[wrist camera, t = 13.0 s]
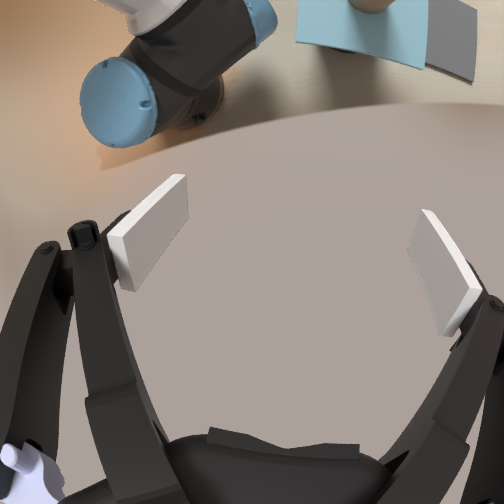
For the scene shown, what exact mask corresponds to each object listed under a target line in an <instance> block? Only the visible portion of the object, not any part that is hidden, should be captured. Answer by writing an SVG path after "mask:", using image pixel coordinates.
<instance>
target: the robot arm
mask: <svg viewBox="0 0 504 504" xmlns="http://www.w3.org/2000/svg"><path fill="white" fill-rule="evenodd" d="M93 1H95V2H98V3H100V4H102V5H104V6H107V7H109V8H111V9H113V10H115V11H117V12H119V13H121V14H123V15H125V16H126V21H127V27H128V32H129V33H130V34H132V35H134V36H136V37H135V38H134V39H133V40H132V41H131V43H130V44H129V45H128V46H127V47H126V48H125V50H124V51H123V52H122V53H121V54H120V56H119V57H111V58H109V59H106V60H104V61H102V62H100V63H98V64H97V65H95V66H94V67H93V68H92V69H91V70H90V71H89V73H88V74H87V76H86V78H85V80H84V82H83V84H82V88H81V92H80V106H81V115H82V118H83V121H84V124H85V126H86V128H87V129H88V131H89V132H90V133H91V135H92V136H93V137H94V138H95V139H96V140H98V141H99V142H100V143H102V144H104V145H106V146H108V147H112V148H127V147H130V146H133V145H138V144H140V143H143V142H144V141H145V140H147V139H148V138H150V137H152V136H154V135H156V134H158V133H160V132H163V131H165V130H167V129H170V130H188V129H191V128H194V127H197V126H199V125H201V124H203V123H204V122H206V121H207V120H208V119H210V118H211V117H212V116H213V115H214V113H215V112H216V111H217V109H218V107H219V105H220V103H221V100H222V97H223V79H222V76H221V75H222V74H223V73H224V72H225V71H226V70H228V69H229V68H230V67H231V66H232V65H234V64H235V63H236V62H237V61H239V60H240V59H241V58H242V57H244V56H245V55H246V54H248V53H249V52H250V51H252V50H255V49H256V48H257V47H258V46H259V44H260V43H261V42H262V41H264V40H265V39H266V38H267V37H269V36H270V35H271V34H273V33H274V31H275V30H276V27H277V25H278V20H277V16H276V13H275V11H274V9H273V7H272V6H271V4H270V2H269V1H268V0H93ZM187 220H188V200H187V179H186V174H173V175H172V176H170V177H169V178H168V179H167V180H166V181H164V182H163V183H162V184H161V185H160V186H159V187H157V188H156V189H155V190H154V191H153V192H152V193H151V194H149V195H148V196H147V197H146V198H145V199H144V200H143V201H142V202H140V203H139V204H138V205H137V206H136V207H135V208H134V209H133V210H132V211H131V210H129V211H127V212H125V213H123V214H121V215H120V216H119V217H117V218H116V219H115V221H113V222H112V223H111V224H110V226H108V227H107V228H106V229H105V230H104V231H103V232H102V233H101V234H99V230H98V226H97V223H96V222H95V221H92V220H85V221H81V222H79V223H76V224H74V225H73V226H71V227H70V228H69V229H68V232H67V233H68V237H69V240H70V243H71V247H72V250H63V251H62V250H61V247H60V244H59V243H58V242H57V241H49V242H45V243H42V244H41V245H40V246H39V247H38V248H37V249H36V250H35V252H34V254H33V256H32V257H31V259H30V262H29V264H28V266H27V268H26V270H25V272H24V274H23V276H22V279H21V281H20V283H19V286H18V288H17V291H16V293H15V295H14V298H13V300H12V303H11V305H10V308H9V310H8V313H7V316H6V319H5V321H4V324H3V327H2V330H1V333H0V502H3V503H5V504H439V503H440V502H441V500H442V499H443V497H444V496H445V494H446V493H447V491H448V489H449V488H450V486H451V484H452V483H453V481H454V479H455V477H456V476H457V474H458V472H459V470H460V468H461V467H462V464H463V463H464V460H465V459H466V457H467V454H468V452H469V449H470V447H469V444H467V443H466V442H465V441H466V439H467V436H468V434H469V432H470V430H471V428H472V425H473V423H474V421H475V419H476V416H477V414H478V411H479V408H480V406H481V404H482V401H483V399H484V396H485V402H484V409H483V415H482V422H481V427H480V432H479V437H478V441H477V446H476V450H475V454H474V458H473V462H472V465H471V469H470V473H469V476H468V479H467V482H466V485H465V488H464V491H463V495H462V498H461V502H460V504H504V303H503V302H502V301H501V300H500V299H499V298H497V297H495V296H493V295H489V294H488V292H487V291H486V289H485V287H484V285H483V283H482V281H481V280H480V279H479V276H478V275H477V274H476V271H475V270H474V268H473V267H472V265H471V264H470V263H469V262H468V261H467V260H466V259H465V258H464V257H463V255H462V254H461V252H460V251H459V249H458V247H457V246H456V244H455V243H454V241H453V240H452V238H451V237H450V236H449V234H448V233H447V231H446V230H445V228H444V227H443V225H442V224H441V223H440V221H439V220H438V218H437V217H436V216H435V214H434V213H433V212H432V211H428V210H424V209H421V211H420V214H419V218H418V220H417V223H416V226H415V230H414V232H413V235H412V238H411V241H410V243H409V246H408V248H407V252H408V254H409V256H410V258H411V261H412V263H413V265H414V268H415V270H416V273H417V275H418V278H419V280H420V283H421V285H422V288H423V290H424V293H425V296H426V298H427V301H428V304H429V307H430V309H431V312H432V315H433V318H434V321H435V324H436V327H437V330H438V333H439V336H446V337H453V335H454V334H455V332H456V331H457V329H458V328H460V330H461V333H462V334H461V335H460V337H459V338H458V339H457V341H456V342H455V344H454V345H453V346H452V347H451V349H450V351H452V352H451V354H450V356H449V358H448V360H447V362H446V364H445V365H444V367H443V369H442V371H441V373H440V375H439V377H438V378H437V380H436V382H435V384H434V385H433V387H432V389H431V390H430V392H429V394H428V395H427V397H426V398H425V400H424V402H423V403H422V405H421V406H420V408H419V409H418V411H417V412H416V414H415V415H414V417H413V418H412V420H411V421H410V423H409V424H408V426H407V427H406V428H405V430H404V431H403V432H402V434H401V435H400V437H399V438H398V439H397V441H396V442H395V443H394V445H393V446H392V447H391V448H390V450H389V451H388V452H387V453H386V454H385V455H384V456H383V457H382V458H380V459H379V460H378V461H377V460H376V459H374V458H372V457H370V456H368V455H365V454H363V453H359V446H360V445H359V444H329V443H323V444H318V445H311V446H306V447H298V448H290V449H284V448H281V447H278V446H275V445H273V444H270V443H268V442H265V441H262V440H260V439H258V438H255V437H253V436H250V435H248V434H243V433H238V432H233V431H228V430H223V429H218V428H214V427H210V429H209V432H208V434H201V435H191V436H187V437H183V438H180V439H176V440H174V441H172V442H169V439H168V437H167V435H166V433H165V431H164V430H163V427H162V426H161V424H160V421H159V419H158V417H157V415H156V412H155V410H154V408H153V405H152V403H151V400H150V398H149V395H148V392H147V390H146V387H145V385H144V382H143V379H142V377H141V374H140V371H139V368H138V365H137V362H136V360H135V357H134V354H133V351H132V347H131V345H130V341H129V338H128V335H127V332H126V328H125V325H124V321H123V318H122V314H121V310H120V307H119V303H118V299H117V295H116V291H115V288H114V285H113V284H114V283H115V282H116V280H117V279H118V280H119V283H120V287H121V289H124V290H128V291H132V292H136V291H137V289H138V288H139V287H140V285H141V284H142V282H143V281H144V279H145V278H146V276H147V275H148V273H149V272H150V271H151V269H152V268H153V266H154V265H155V263H156V262H157V261H158V259H159V258H160V256H161V255H162V254H163V252H164V251H165V249H166V248H167V247H168V245H169V243H170V242H171V241H172V240H173V238H174V237H175V235H176V234H177V233H178V232H179V230H180V229H181V228H182V226H183V225H184V223H185V222H186V221H187ZM74 302H75V310H76V320H77V328H78V336H79V343H80V350H81V357H82V362H83V368H84V373H85V378H86V383H87V388H88V393H89V395H88V397H86V398H85V408H86V412H87V416H88V420H89V424H90V428H91V431H92V435H93V438H94V442H95V445H96V448H97V451H98V454H99V457H100V461H101V463H102V466H103V469H104V472H105V475H106V477H107V478H106V479H103V480H101V481H100V482H98V483H96V484H93V485H91V486H89V487H87V488H85V489H83V490H81V491H79V492H76V493H74V494H72V495H70V496H67V497H65V495H64V494H63V491H62V487H63V486H64V483H65V482H64V477H63V476H62V474H61V472H60V469H59V467H58V465H57V464H56V457H57V449H58V437H59V436H58V435H59V408H60V395H61V383H62V373H63V365H64V357H65V351H66V344H67V338H68V332H69V326H70V321H71V316H72V311H73V306H74ZM485 393H486V394H485Z"/></svg>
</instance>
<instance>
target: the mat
mask: <svg viewBox="0 0 504 504" xmlns="http://www.w3.org/2000/svg"><path fill="white" fill-rule="evenodd" d="M476 49H477V10H476V9H474V8H472V7H471V6H469V5H467V4H465V3H463V2H461V1H459V0H428V31H427V46H426V57H425V63H427V64H430V65H433V66H436V67H438V68H441V69H443V70H446V71H448V72H451V73H453V74H456V75H458V76H460V77H462V78H465V79H467V80H469V81H471V82H474V75H475V64H476Z"/></svg>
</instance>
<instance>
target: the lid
mask: <svg viewBox="0 0 504 504" xmlns="http://www.w3.org/2000/svg"><path fill="white" fill-rule="evenodd" d="M427 31H428V0H299V1H298V15H297V29H296V43H303V44H311V45H319V46H325V47H331V48H337V49H343V50H348V51H353V52H357V53H362V54H366V55H371V56H375V57H379V58H382V59H386V60H390V61H393V62H397V63H400V64H404V65H407V66H410V67H413V68H416V69H419V70H424V67H425V57H426V46H427Z"/></svg>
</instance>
